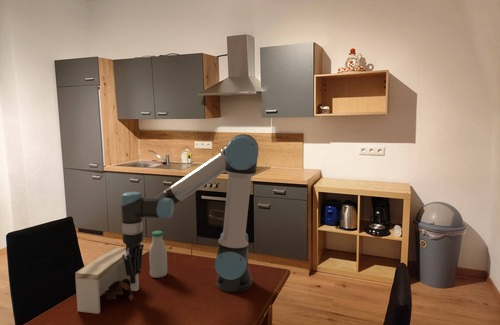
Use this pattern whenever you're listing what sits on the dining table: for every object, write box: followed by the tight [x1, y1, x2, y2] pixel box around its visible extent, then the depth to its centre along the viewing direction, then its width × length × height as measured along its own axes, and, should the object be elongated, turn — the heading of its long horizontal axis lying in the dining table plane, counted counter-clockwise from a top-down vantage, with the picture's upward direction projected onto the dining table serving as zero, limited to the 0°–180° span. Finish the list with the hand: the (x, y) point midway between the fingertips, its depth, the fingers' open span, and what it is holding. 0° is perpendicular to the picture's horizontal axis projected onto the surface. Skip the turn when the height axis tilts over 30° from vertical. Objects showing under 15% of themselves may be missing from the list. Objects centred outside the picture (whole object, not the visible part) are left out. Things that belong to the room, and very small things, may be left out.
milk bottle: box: [148, 230, 168, 279], centre depth 168 cm, size 8×8×20 cm
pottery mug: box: [104, 279, 134, 302], centre depth 148 cm, size 12×10×8 cm
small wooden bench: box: [74, 246, 130, 315], centre depth 149 cm, size 9×26×15 cm, turn 169°
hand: (134, 289), depth 147 cm, fingers closed
